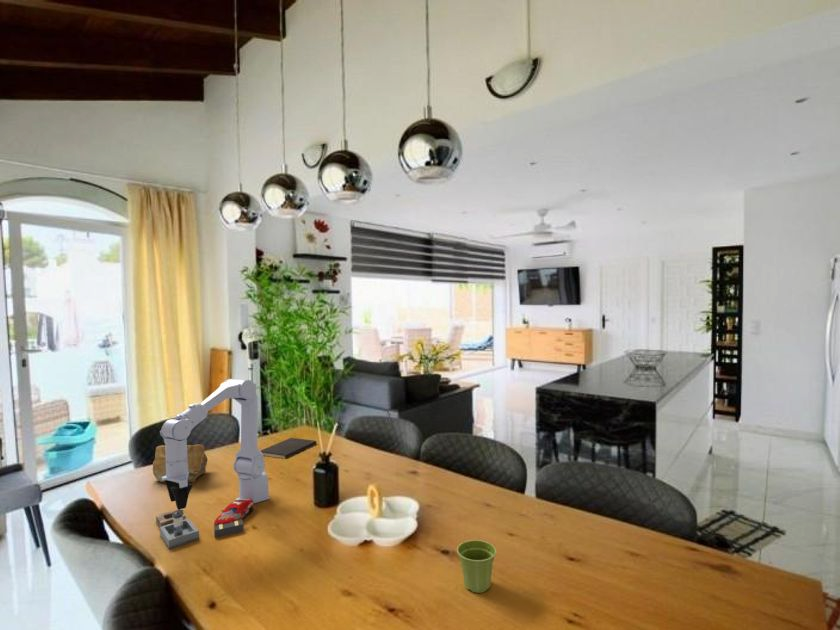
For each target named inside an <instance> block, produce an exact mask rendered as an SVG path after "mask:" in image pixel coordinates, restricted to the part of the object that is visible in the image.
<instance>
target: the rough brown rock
mask: <svg viewBox="0 0 840 630" xmlns="http://www.w3.org/2000/svg"><path fill="white" fill-rule="evenodd" d="M154 454H155V455H154V460H153V462H152V474H153V476H154V478H155V479H156V480H157V481H159V482H160V483H164V481H163V480H162V477H163V476H166V453H165V444H164V445H163V444H162V445H158V446H156V447H155V453H154ZM187 461H188V472H189V475H188V478H187V480H188V483H190V482H193V483H194V482H196V479H197V478H198V477H200V476H202V475H206V469H207V468H206V467H207V464H208V456H207V455H206V453H205V446H204V445H202V444H197V443H196V444H193V445H192V444H187Z"/></svg>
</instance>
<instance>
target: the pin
mask: <svg viewBox="0 0 840 630" xmlns="http://www.w3.org/2000/svg"><path fill="white" fill-rule="evenodd" d="M175 510H176V511H174V512H172V517H173V520H174V537H176V536H179V535H182V534H183V514H185V511H184V510H183V509H180V510H177V509H175Z"/></svg>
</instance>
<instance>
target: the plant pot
mask: <svg viewBox="0 0 840 630" xmlns="http://www.w3.org/2000/svg"><path fill="white" fill-rule="evenodd" d="M456 553H457V555H458V558H459V560H460V565H461V570H462V575H463V582H464V586H465V588H466V589H467V590H470V592H472V593H477V594H478V593H479V594H480V593H485V592H487V590H489V589H490V588H491V582H492V581H491V580H492V572H493V563H494V560H495V557H496V555H497V549H496V547H495V546H494V545H493V544H492V543H490V542H488V541H485V540H480V539H471V540H465V541H463V542H461V543H459V545H457V547H456Z"/></svg>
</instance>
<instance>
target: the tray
mask: <svg viewBox="0 0 840 630" xmlns="http://www.w3.org/2000/svg"><path fill="white" fill-rule="evenodd" d="M199 532H200V530H199V529H198V528H197V527H196V525H195V524H194V523H193V522H192V521H191V519H190V518H186V519H185V520H183V534H182V535H179V536H176V537H174V523H172V524H168V525H165V526H162V527H159V535H160V537H161V539H162V540H163V542H164V544H165V545H166V547H167V548H168V549H169V550H171V549H175V548H176V547H181V546H183V545H186V544H189V543H191V542H194V541H197V540H200V533H199Z"/></svg>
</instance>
